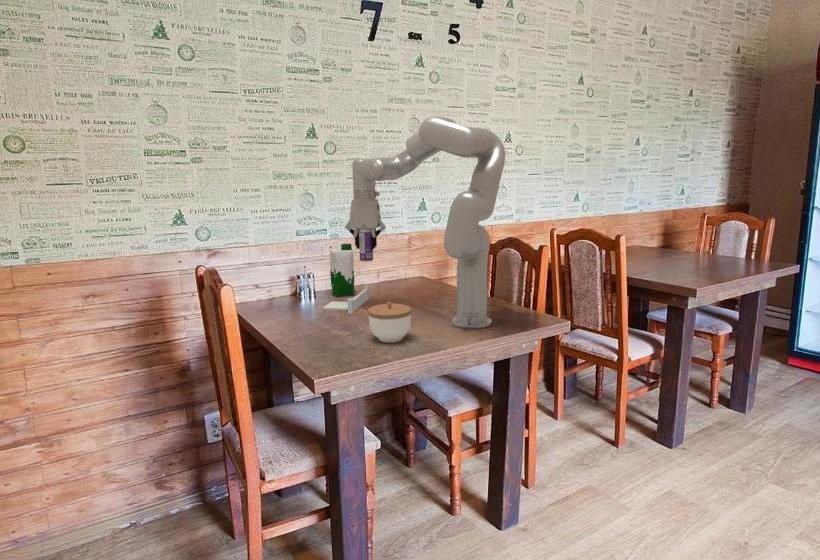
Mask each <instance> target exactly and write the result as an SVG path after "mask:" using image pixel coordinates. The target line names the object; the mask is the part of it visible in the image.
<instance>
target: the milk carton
mask: <svg viewBox="0 0 820 560" xmlns="http://www.w3.org/2000/svg"><path fill="white" fill-rule="evenodd" d="M354 267H355V265H354V250H353V249H352V243H341V244H340V248H339V247H337V248H331V249H329V272H330V273H329V275H330V284H331V290H332V294H333V296H334V297H335V298H343V297H355V268H354Z"/></svg>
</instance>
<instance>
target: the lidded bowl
mask: <svg viewBox="0 0 820 560" xmlns="http://www.w3.org/2000/svg"><path fill="white" fill-rule="evenodd" d="M367 315H368V324H369V328H370V330H371V333H372V334H373V335H374V337H376V339H378V341H379V342H381V343H387V344H388V343H397V342H400V341H402V340H403V338H405V337H406V335H407V334H408V332H409V330H410V327H411V323H412V308H411V306H409V305H406V304H402V303H392V301H388V302H386V303H383V304H376V305H373V306H370V307H369V308H368V309H367Z"/></svg>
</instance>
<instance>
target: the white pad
mask: <svg viewBox="0 0 820 560" xmlns="http://www.w3.org/2000/svg"><path fill="white" fill-rule="evenodd" d="M322 310H332V311H335V310H336V311H348V304H347V301H330V302H329V303H327V304H326V305H324V306H323V307H322Z"/></svg>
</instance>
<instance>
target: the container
mask: <svg viewBox="0 0 820 560" xmlns="http://www.w3.org/2000/svg"><path fill="white" fill-rule="evenodd" d="M371 238H372V233H371V230H370V229H368V228H367V227H366V225H365V224H362V226H361V228H360V229H359V250H358V251H359V261H360V262H372V261H373V260H374V249H371Z"/></svg>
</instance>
